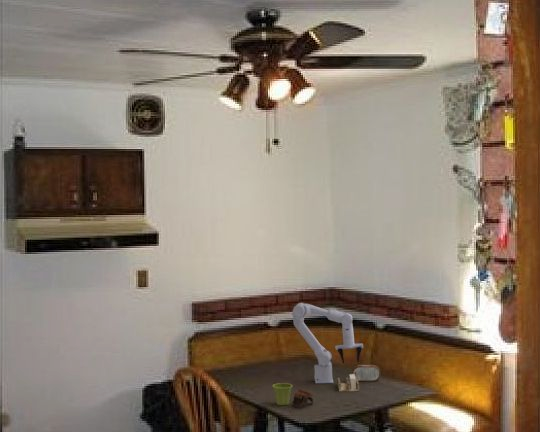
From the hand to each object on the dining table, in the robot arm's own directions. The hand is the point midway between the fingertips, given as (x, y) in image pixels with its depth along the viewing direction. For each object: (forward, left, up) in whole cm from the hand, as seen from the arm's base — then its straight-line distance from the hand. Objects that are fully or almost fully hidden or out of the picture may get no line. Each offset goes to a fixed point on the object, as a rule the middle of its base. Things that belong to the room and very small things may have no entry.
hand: (350, 362), depth 342 cm
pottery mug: (-26, -39, -11) cm, 48 cm away
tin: (+8, +2, -11) cm, 14 cm away
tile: (0, -11, -10) cm, 14 cm away
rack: (-2, -11, -10) cm, 15 cm away
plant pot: (-35, -36, -11) cm, 51 cm away
